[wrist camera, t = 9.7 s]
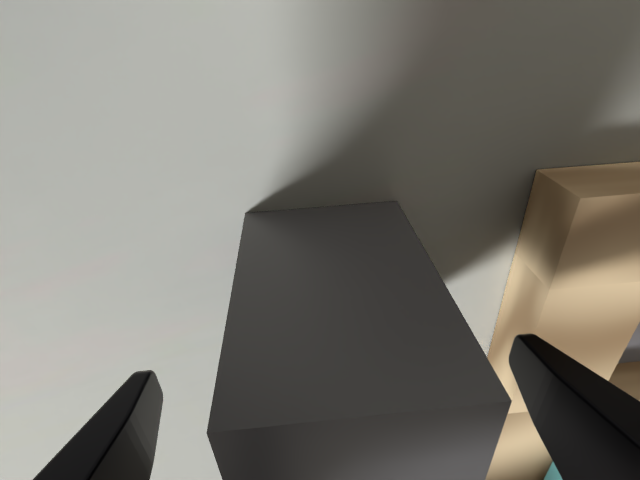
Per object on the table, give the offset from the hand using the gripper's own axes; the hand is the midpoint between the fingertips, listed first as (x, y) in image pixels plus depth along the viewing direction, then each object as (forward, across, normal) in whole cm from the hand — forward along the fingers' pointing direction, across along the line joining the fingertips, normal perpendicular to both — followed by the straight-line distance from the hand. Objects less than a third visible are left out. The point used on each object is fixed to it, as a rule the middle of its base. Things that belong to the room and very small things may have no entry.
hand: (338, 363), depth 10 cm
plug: (+4, 0, 0) cm, 4 cm away
